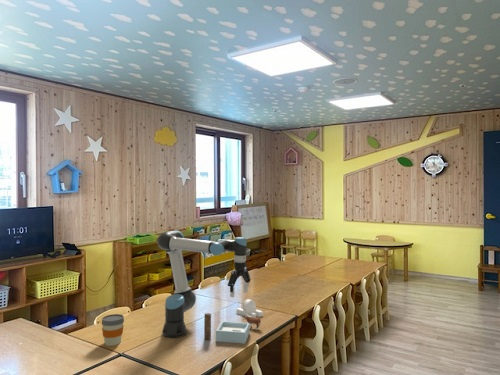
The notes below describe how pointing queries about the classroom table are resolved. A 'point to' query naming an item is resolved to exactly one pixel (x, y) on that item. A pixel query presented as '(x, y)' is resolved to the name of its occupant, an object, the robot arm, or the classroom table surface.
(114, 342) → the reusable coffee cup
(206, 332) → the walnut peg
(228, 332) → the blue box
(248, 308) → the white rounded shape
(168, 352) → the classroom table surface
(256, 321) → the bull figurine
